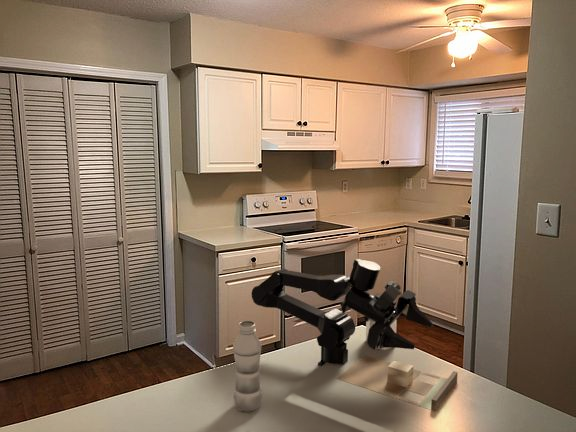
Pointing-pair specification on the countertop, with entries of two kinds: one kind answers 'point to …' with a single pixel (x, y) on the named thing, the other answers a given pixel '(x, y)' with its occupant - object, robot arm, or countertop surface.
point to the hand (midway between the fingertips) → (423, 336)
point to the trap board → (375, 378)
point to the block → (400, 373)
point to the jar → (370, 323)
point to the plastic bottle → (247, 368)
